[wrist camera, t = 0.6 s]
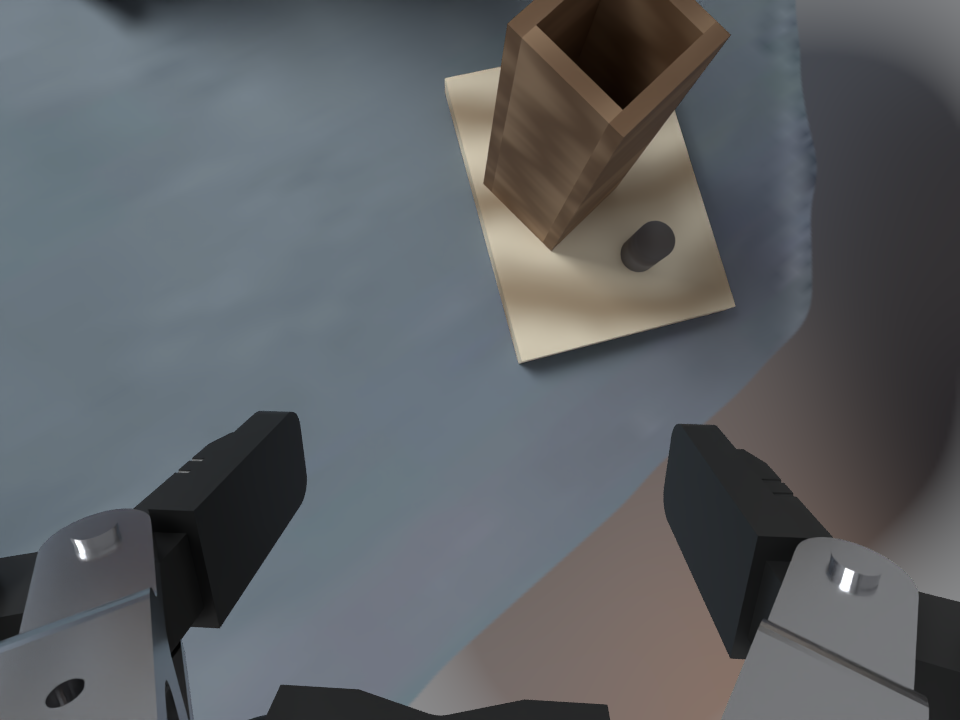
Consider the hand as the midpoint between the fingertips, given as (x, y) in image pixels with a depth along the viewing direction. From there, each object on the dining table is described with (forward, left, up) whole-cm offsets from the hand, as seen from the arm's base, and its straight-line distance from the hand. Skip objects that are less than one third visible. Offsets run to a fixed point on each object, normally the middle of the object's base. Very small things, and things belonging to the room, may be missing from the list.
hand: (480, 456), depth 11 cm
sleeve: (-14, +10, -21) cm, 27 cm away
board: (-13, +12, -23) cm, 29 cm away
